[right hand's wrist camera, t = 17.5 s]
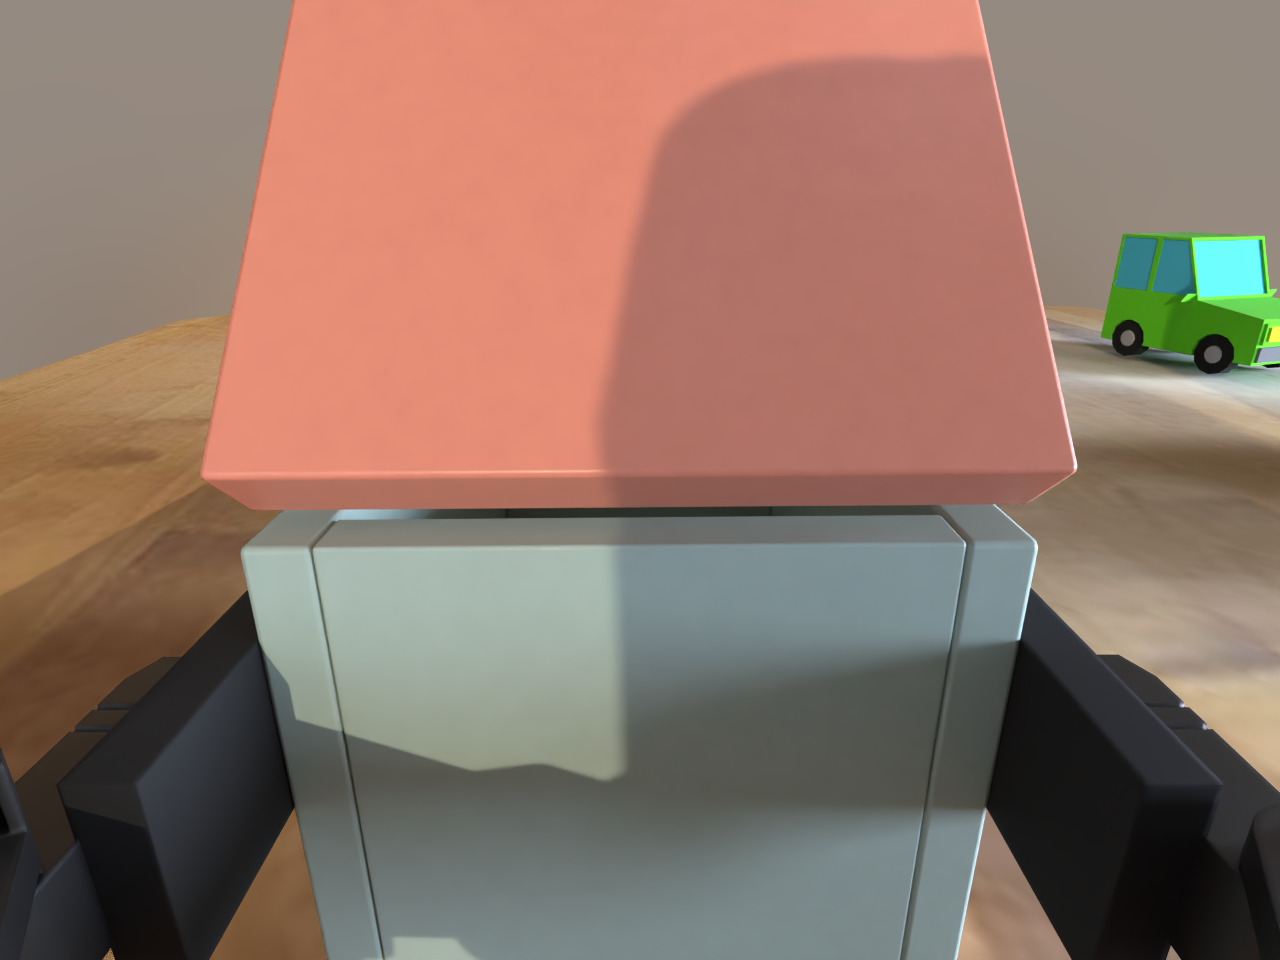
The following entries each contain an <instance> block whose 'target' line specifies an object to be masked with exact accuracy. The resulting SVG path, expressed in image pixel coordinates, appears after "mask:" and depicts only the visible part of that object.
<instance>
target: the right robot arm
mask: <svg viewBox="0 0 1280 960" xmlns="http://www.w3.org/2000/svg"><path fill="white" fill-rule="evenodd" d="M1206 725H1207V724H1206V723H1205V722H1204V721H1203V720H1202V719H1201V718H1200V717H1199V716H1198V715H1197V714H1196V713H1195V712H1194V711H1192V710H1191V709H1190V708H1189V707H1184V702H1183V701H1182V700H1181V699H1180V698H1179V697H1178V696H1177V695H1175V694H1174V693H1173V692H1172V691H1171V690H1170V689H1169V688H1168V687H1167V686H1166V685H1165V684H1164V683H1163V682H1162V681H1161V680H1160V679H1158V678H1157V677H1156V676H1155V675H1153V674H1151V673H1149V672H1148V671H1146V670H1144V669H1142V668H1141V667H1139V666H1137V665H1135V664H1134V663H1132V662H1130V661H1128V660H1127V659H1125V658H1123V657H1122V656H1120V655H1096V653H1095V652H1094V651H1093V650H1092V649H1091V648H1090V647H1089V646H1088V645H1087V644H1086V643H1085V642H1084V641H1083V640H1082V639H1081V638H1080V637H1079V636H1078V635H1077V634H1076V633H1075V632H1074V631H1073V630H1072V629H1071V628H1070V627H1069V626H1068V625H1067V624H1066V623H1065V622H1064V621H1063V620H1062V619H1061V618H1060V617H1059V616H1058V615H1057V614H1056V613H1055V612H1054V611H1053V610H1052V609H1051V608H1050V607H1049V606H1048V605H1047V604H1046V603H1045V602H1044V601H1043V600H1042V599H1041V598H1040V597H1039V596H1038V595H1037V594H1036V593H1035V592H1034V590H1033V589H1032V588H1031V587H1030V591H1029V596H1028V602H1027V607H1026V612H1025V617H1024V622H1023V627H1022V632H1021V637H1020V642H1019V647H1018V652H1017V657H1016V662H1015V667H1014V672H1013V677H1012V682H1011V687H1010V692H1009V697H1008V702H1007V707H1006V713H1005V718H1004V723H1003V728H1002V733H1001V738H1000V743H999V748H998V753H997V758H996V763H995V768H994V773H993V778H992V783H991V788H990V793H989V798H988V803H987V809H988V811H989V813H990V815H991V817H992V818H993V820H994V822H995V824H996V825H997V827H998V829H999V831H1000V833H1001V834H1002V836H1003V838H1004V840H1005V842H1006V843H1007V845H1008V847H1009V849H1010V850H1011V852H1012V854H1013V856H1014V858H1015V859H1016V861H1017V863H1018V865H1019V866H1020V868H1021V870H1022V872H1023V874H1024V875H1025V877H1026V879H1027V881H1028V883H1029V884H1030V886H1031V888H1032V890H1033V891H1034V893H1035V895H1036V897H1037V899H1038V900H1039V902H1040V904H1041V906H1042V908H1043V909H1044V911H1045V913H1046V915H1047V916H1048V918H1049V920H1050V922H1051V924H1052V925H1053V927H1054V929H1055V931H1056V932H1057V934H1058V936H1059V938H1060V940H1061V941H1062V943H1063V945H1064V947H1065V949H1066V950H1067V952H1068V954H1069V956H1070V957H1071V959H1072V960H1166V958H1167V955H1168V952H1169V949H1170V946H1172V947H1173V948H1174V950H1175V951H1176V953H1177V954H1178V956H1179V957H1180V958H1181V960H1280V792H1279V791H1278V790H1276V789H1275V788H1274V787H1273V786H1272V785H1271V784H1270V783H1269V782H1268V781H1267V780H1266V779H1265V778H1264V777H1263V776H1262V775H1261V774H1259V773H1258V772H1257V771H1256V770H1255V769H1254V768H1253V767H1252V766H1251V765H1250V764H1249V763H1248V762H1247V761H1246V760H1245V759H1244V758H1242V757H1241V756H1240V755H1239V754H1238V753H1237V752H1236V751H1235V750H1234V749H1233V748H1232V747H1231V746H1230V745H1229V744H1228V743H1226V742H1225V741H1224V740H1223V739H1222V738H1221V737H1220V736H1219V735H1218V734H1217V733H1216V732H1215V731H1214V730H1213V729H1207V726H1206ZM293 809H294V802H293V797H292V793H291V788H290V783H289V779H288V774H287V769H286V765H285V760H284V755H283V751H282V746H281V741H280V737H279V732H278V727H277V723H276V718H275V713H274V709H273V704H272V699H271V695H270V690H269V685H268V681H267V676H266V671H265V667H264V662H263V658H262V653H261V648H260V644H259V639H258V634H257V630H256V625H255V620H254V616H253V611H252V606H251V602H250V597H249V592H248V590H247V591H246V592H245V593H244V594H243V595H242V596H241V597H240V598H239V599H238V600H237V601H236V602H235V603H234V604H233V605H232V606H231V607H230V609H229V610H228V611H227V612H226V613H225V614H224V615H223V616H222V617H221V618H220V619H219V620H218V621H217V622H216V623H215V624H214V625H213V626H212V627H211V628H210V629H209V630H208V631H207V632H206V633H205V634H204V635H203V636H202V637H201V638H200V639H199V640H198V641H197V642H196V643H195V644H194V645H193V646H192V647H191V648H190V649H189V650H188V651H187V652H186V653H185V654H184V655H183V656H182V657H162V658H161V659H159V660H157V661H155V662H154V663H152V664H150V665H149V666H147V667H145V668H143V669H142V670H140V671H138V672H137V673H135V674H133V675H131V676H130V677H128V678H126V679H125V680H124V681H123V682H122V683H120V684H119V685H118V686H117V687H116V688H115V689H114V690H113V691H112V692H111V693H110V694H109V695H108V696H107V697H106V698H105V699H104V700H103V701H101V702H100V703H99V704H98V709H97V710H92V711H91V712H90V713H89V714H88V715H87V716H86V717H85V718H84V719H82V720H81V721H80V722H79V723H78V724H77V725H76V726H75V731H74V732H69V733H68V734H67V735H66V736H65V737H63V738H62V739H61V740H60V741H59V742H58V743H57V744H56V745H55V746H54V747H53V748H52V749H51V750H50V751H49V752H48V753H47V754H46V755H45V756H43V757H42V758H41V759H40V760H39V761H38V762H37V763H36V764H35V765H34V766H33V767H32V768H31V769H30V770H29V771H28V772H27V773H26V774H24V775H23V776H22V777H21V778H20V779H19V780H18V781H17V782H16V783H15V784H14V782H13V780H12V777H11V774H10V771H9V769H8V766H7V763H6V760H5V757H4V755H3V752H2V749H1V748H0V960H102V959H103V958H104V957H105V955H106V954H107V952H108V951H109V949H110V948H111V949H112V952H113V955H114V958H115V960H209V959H210V957H211V955H212V953H213V952H214V950H215V948H216V946H217V944H218V943H219V941H220V939H221V937H222V936H223V934H224V932H225V930H226V928H227V927H228V925H229V923H230V921H231V919H232V918H233V916H234V914H235V912H236V911H237V909H238V907H239V905H240V903H241V902H242V900H243V898H244V896H245V894H246V893H247V891H248V889H249V887H250V886H251V884H252V882H253V880H254V878H255V877H256V875H257V873H258V871H259V870H260V868H261V866H262V864H263V862H264V861H265V859H266V857H267V855H268V853H269V852H270V850H271V848H272V846H273V845H274V843H275V841H276V839H277V837H278V836H279V834H280V832H281V830H282V828H283V827H284V825H285V823H286V821H287V820H288V818H289V816H290V814H291V812H292V811H293Z"/></svg>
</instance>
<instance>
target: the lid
mask: <svg viewBox="0 0 1280 960" xmlns="http://www.w3.org/2000/svg"><path fill="white" fill-rule="evenodd" d="M1076 470H1077V462H1076V457H1075V452H1074V448H1073V443H1072V438H1071V434H1070V429H1069V424H1068V419H1067V415H1066V410H1065V405H1064V401H1063V396H1062V391H1061V387H1060V382H1059V377H1058V373H1057V368H1056V363H1055V359H1054V354H1053V349H1052V345H1051V340H1050V335H1049V330H1048V326H1047V321H1046V316H1045V312H1044V307H1043V302H1042V298H1041V293H1040V288H1039V284H1038V279H1037V274H1036V270H1035V265H1034V260H1033V256H1032V251H1031V246H1030V241H1029V237H1028V232H1027V227H1026V223H1025V218H1024V213H1023V209H1022V204H1021V200H1020V195H1019V190H1018V185H1017V181H1016V176H1015V171H1014V167H1013V162H1012V157H1011V152H1010V148H1009V143H1008V138H1007V134H1006V129H1005V125H1004V120H1003V115H1002V110H1001V106H1000V101H999V96H998V92H997V87H996V82H995V78H994V73H993V68H992V63H991V59H990V54H989V50H988V45H987V40H986V35H985V31H984V26H983V21H982V17H981V12H980V7H979V3H978V0H293V2H292V7H291V12H290V17H289V22H288V27H287V32H286V37H285V43H284V48H283V53H282V58H281V63H280V68H279V73H278V78H277V83H276V88H275V93H274V98H273V104H272V108H271V114H270V119H269V124H268V129H267V134H266V139H265V144H264V149H263V154H262V159H261V164H260V169H259V175H258V180H257V185H256V190H255V195H254V200H253V205H252V210H251V215H250V220H249V225H248V230H247V236H246V241H245V246H244V251H243V256H242V261H241V266H240V271H239V276H238V281H237V286H236V291H235V296H234V301H233V307H232V312H231V317H230V322H229V327H228V332H227V337H226V342H225V347H224V352H223V357H222V362H221V367H220V373H219V378H218V383H217V388H216V393H215V398H214V403H213V408H212V413H211V418H210V423H209V428H208V433H207V439H206V444H205V449H204V454H203V459H202V464H201V469H200V475H201V478H202V480H204V481H206V482H207V483H209V484H211V485H212V486H214V487H215V488H217V489H219V490H220V491H222V492H223V493H225V494H227V495H228V496H230V497H231V498H233V499H235V500H236V501H238V502H239V503H241V504H243V505H244V506H246V507H247V508H249V509H251V510H357V509H483V508H609V507H734V506H859V505H985V504H1026V503H1028V502H1030V501H1032V500H1033V499H1035V498H1036V497H1038V496H1039V495H1041V494H1042V493H1044V492H1046V491H1047V490H1049V489H1050V488H1052V487H1053V486H1055V485H1056V484H1058V483H1059V482H1061V481H1063V480H1064V479H1066V478H1067V477H1069V476H1070V475H1072V474H1073V473H1075V472H1076Z"/></svg>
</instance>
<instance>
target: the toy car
mask: <svg viewBox="0 0 1280 960" xmlns="http://www.w3.org/2000/svg"><path fill="white" fill-rule="evenodd" d="M1276 290H1277V289H1272V290H1269V281H1268V270H1267V259H1266V249H1265V239H1264V236H1250V235H1230V234H1210V233H1144V234H1123V237H1122V241H1121V246H1120V251H1119V255H1118V260H1117V264H1116V269H1115V274H1114V279H1113V283H1112V288H1111V292H1110V297H1109V302H1108V307H1107V311H1106V316H1105V320H1104V325H1103V330H1102V334H1101V337H1102V338H1107V339H1112V344H1113V346H1114V348H1115V350H1116V352H1118V353H1120V354H1122V355H1123V356H1125V355H1137V354H1142V353H1143V352H1145V351H1146V350H1147V349H1148V348H1149V347H1152V348H1157V349H1162V350H1167V351H1173V352H1178V353H1183V354H1188V355H1194V361H1195V363H1196V365H1197V367H1198V368H1199V369H1200V370H1202V371H1204V372H1205V373H1207V374H1213V373H1226V372H1229V371H1230V370H1232V369H1234V368H1235V367H1237V365H1238V364H1243V365H1249V366H1254V365H1263V366H1265V367H1267V368H1275V367H1280V299H1278V298H1274V297H1271V296H1272V295H1273V294H1274V292H1275V291H1276Z"/></svg>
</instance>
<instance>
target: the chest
mask: <svg viewBox="0 0 1280 960" xmlns="http://www.w3.org/2000/svg"><path fill="white" fill-rule="evenodd" d="M1037 551H1038V546H1037V542H1036V540H1035V539H1033V538H1032V537H1031V536H1030V535H1029V534H1028V533H1027V532H1025V531H1024V530H1023V529H1022V528H1021V527H1020V526H1019V525H1018V524H1016V523H1015V522H1014V521H1013V520H1012V519H1011V518H1010V517H1009V516H1007V515H1006V514H1005V513H1004V512H1003V511H1002V510H1001V509H999V508H998V507H997V506H996V505H995V504H985V505H859V506H734V507H609V508H483V509H357V510H283V511H281V512H280V513H279V514H278V515H277V516H276V517H275V518H274V519H273V520H272V521H270V522H269V523H268V524H267V525H266V526H265V527H264V528H263V529H262V530H261V531H260V532H258V533H257V534H256V535H255V536H254V537H253V538H252V539H251V540H250V541H249V542H248V543H246V544H245V545H244V546H243V547H242V549H241V560H242V564H243V569H244V574H245V578H246V583H247V588H248V592H249V597H250V602H251V606H252V611H253V616H254V620H255V625H256V630H257V634H258V639H259V644H260V648H261V653H262V658H263V662H264V667H265V671H266V676H267V681H268V685H269V690H270V695H271V699H272V704H273V709H274V713H275V718H276V723H277V727H278V732H279V737H280V741H281V746H282V751H283V755H284V760H285V765H286V769H287V774H288V779H289V783H290V788H291V793H292V797H293V802H294V807H295V811H296V816H297V821H298V825H299V830H300V835H301V839H302V844H303V849H304V853H305V858H306V863H307V867H308V872H309V877H310V881H311V886H312V891H313V895H314V900H315V905H316V909H317V914H318V918H319V923H320V928H321V932H322V937H323V942H324V946H325V951H326V956H327V960H957V955H958V950H959V945H960V940H961V935H962V929H963V924H964V919H965V914H966V909H967V904H968V899H969V894H970V889H971V884H972V879H973V874H974V869H975V864H976V859H977V854H978V849H979V844H980V839H981V834H982V829H983V824H984V818H985V813H986V808H987V803H988V798H989V793H990V788H991V783H992V778H993V773H994V768H995V763H996V758H997V753H998V748H999V743H1000V738H1001V733H1002V728H1003V723H1004V718H1005V713H1006V707H1007V702H1008V697H1009V692H1010V687H1011V682H1012V677H1013V672H1014V667H1015V662H1016V657H1017V652H1018V647H1019V642H1020V637H1021V632H1022V627H1023V622H1024V617H1025V612H1026V607H1027V602H1028V596H1029V591H1030V586H1031V581H1032V576H1033V571H1034V566H1035V561H1036V556H1037Z"/></svg>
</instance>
